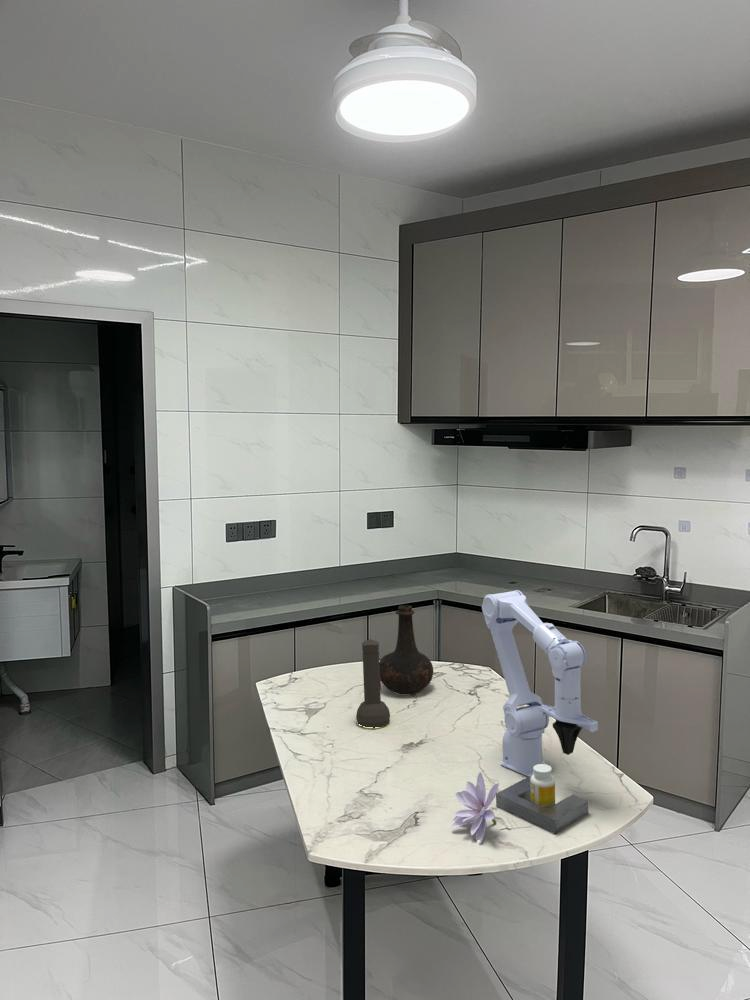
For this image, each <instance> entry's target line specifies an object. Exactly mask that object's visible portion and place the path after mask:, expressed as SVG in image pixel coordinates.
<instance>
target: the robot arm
mask: <svg viewBox="0 0 750 1000" xmlns="http://www.w3.org/2000/svg"><path fill="white" fill-rule="evenodd" d="M481 610H482V614H483V618H484V620H485V624H486V627H487V629H489V631H490V635H491V636H492V640H493V643H494V644H493V645H494V647H495V651H496V654H497V658H498V661H499V664H500V667H501V670H502V674H503V678H504V681H505V684H506V688H507V691H508V694H509V697H508V698H507V700H506V701H505V703H504V705H503V707H502V709H503V714H504V724H505V728H506V730H505V731H504V734H503V736H502V761H501V763H500V765H501V766H502V767H505V768H507V769H509V770H511V771H514V772H516V773H519V774H521V775H524V776H525V777H529V776H532V775H533V774H534V773H533V767H534V766H535V765H537V764H546V765H549V766H550V764H549V763H548V764H547V763H546V762H543V734H545V729H546V728H548V727H549V723H550V717H551V718H553V719H555V722H553V723H552V728H553V729H554V731H555V733H556V734H557V737H558V740H559V743H560V747H561V750H562V753H563V754H564V755H567V756H569V755H570V754H572V753H574V750H575V745H576V742H577V739H578V737H579V735H580V733H581V731H582V729H586V730H588V731H589V732H590V733H595V732H596V731H598V730H599V721H596V720H594V719H592V718H590V717H588V716H587V715H585V714H583V713H582V708H581V707H582V705H581V704H582V702H581V701H582V700H581V694H582V693H581V691H582V689H581V674H582V673H581V667H584V666H585V664H586V662H587V654H586V651H585V648H584V646H583V645H582V644H581V643H580V642H579V641H577V640H571V639H568V638H567V637H566V636H565V635H564V634H563V633H562V632H560V631H559V630H558V629H557V628H556V627H555V625H554V624H553V623H549V622H543V621H542V620H541V619H540V617H539V616H538V615H537V614H536V613H535V612H534V611H533V610H532V608H531V607H530V605H529V604H528V599H527V596H526V595H524V593H523V592H522V591H520V590H519V589H515V590H512V591H507V592H499V593H493V594H491V593H490V594H489V593H488V594H486V595H485V596H484V598H483V600H482V605H481ZM518 623H520V624H521V625H523V627H525V628H526V629H527V630H528V631H529V632H531V633H532V639H533V642H534V643H535V644H536V645H538V646H539V647H540V649H541V650H543V652H544V653H545V654H546V655H548V660H549V664H550V666H551V673H552V676H553V677H554V706H553V705H547V704H544V703H543V700H542V697H541V696H539V695H537V694H535V693H534V692H532V691H531V689H530V685H529V683H528V679H527V675H526V673H525V670H524V665H523V663H522V660H521V657H520V653H519V650H518V647H517V643H516V640H515V636H514V633H513V629H514V626H516V625H517V624H518ZM550 767H551V766H550Z"/></svg>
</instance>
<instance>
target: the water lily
mask: <svg viewBox="0 0 750 1000" xmlns="http://www.w3.org/2000/svg"><path fill="white" fill-rule="evenodd" d="M499 786H500V783H499V782H497V783H495V784H494V785H492V787H491V788H490V790H489V793H488V795H487V792H486V784H485V779H484V776H483V773H482V771H479V773H478V774H477V778H476V785H475V784H474V783H473V782H471V781H466V785H465V789H466V790H462V791H458V792H456V793H455V796H456V800H457V801H458V802H459V803H460V804H461V805H463V806H464V807H466V808H468V809H460V810H457V811H456V812H455V813H454V816H455V817H454V818H453V819H452V821H455V822H454V823H453V822H452V825H451V827H450V828H451V829H456V828H461V827H464V826H465V825H468V824H469V823H472V822H473V821H474V820H475V821H474V822H473V823H472V825H471V827H470V835H471V836H473V835H475V841H476V840H480V843H482V841H483V839H484V836H485V832H486V827H487V821H491V822H492V823H493V824H495V825H496V824H497V820H495V812H494V811H493V810H492V809H488V808H489V807H490V806H491V804H492V803H493V801H494V799H496V793H498V789H499ZM486 797H487V798H486Z"/></svg>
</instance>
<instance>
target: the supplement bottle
mask: <svg viewBox="0 0 750 1000" xmlns="http://www.w3.org/2000/svg"><path fill="white" fill-rule="evenodd" d="M546 764H547V763H546ZM546 764H537V765H535V766H534V767H533V773H534V774H533V775H532V776H531V778H530V801H531V802H532V803H534V804H536V805H538V806H541V807H543V808H545V809H548V808H550V807H551V806H553V805H555V804H556V779H555V777H554V776H553V775H552V774H553V769H552V766H549V765H550V764H548V765H546Z"/></svg>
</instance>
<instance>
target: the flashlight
mask: <svg viewBox="0 0 750 1000" xmlns="http://www.w3.org/2000/svg"><path fill="white" fill-rule="evenodd" d="M361 646H362V648H361V649H362V669H363V670H362V674H363V696H364V697H363V698H364V699H363V700H364V701H361V703H360V705H359V706H358V708H357V710H356V715H355V719H356V722H358V724H360V725H362V726H365V727H373V728H375V727H382V726H385V727H387V726H388V725H389V724H390V718H391V713H390V709H389V707H388V706H387V704H386V703H385V702H384V701H383V700H381V697H382V695H381V688H382V682H381V678H380V668H379V662H380V651H379V649H380V648H379V641H377V640H374V639H371V638H369V639H368V640H365V641H363V642H362V644H361ZM358 724H357V725H358ZM387 724H388V725H387ZM386 725H387V726H386ZM382 728H383V727H382Z"/></svg>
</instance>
